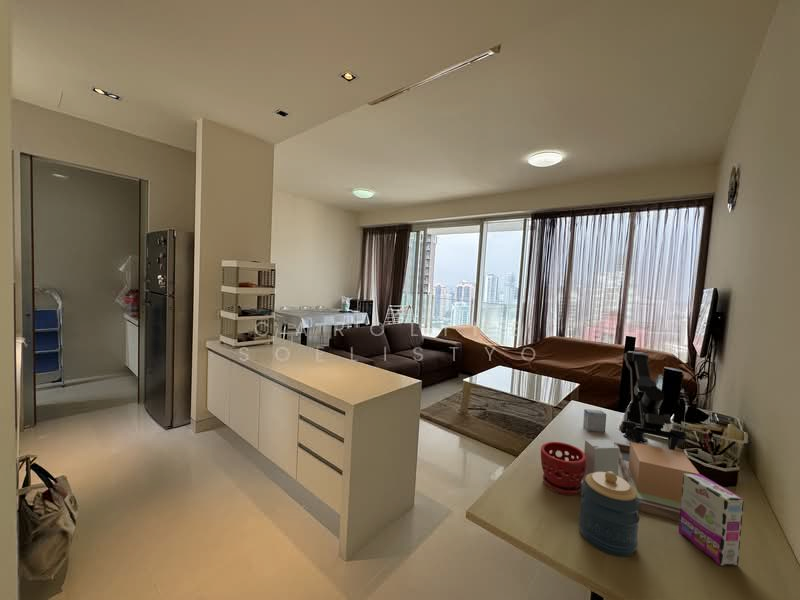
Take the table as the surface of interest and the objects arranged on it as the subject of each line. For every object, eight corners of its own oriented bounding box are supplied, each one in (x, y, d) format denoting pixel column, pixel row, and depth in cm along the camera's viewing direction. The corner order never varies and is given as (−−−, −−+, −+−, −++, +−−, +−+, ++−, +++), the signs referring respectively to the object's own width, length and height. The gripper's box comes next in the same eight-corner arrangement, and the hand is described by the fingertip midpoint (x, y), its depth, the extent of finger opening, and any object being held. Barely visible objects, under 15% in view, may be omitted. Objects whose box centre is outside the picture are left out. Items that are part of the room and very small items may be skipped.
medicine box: (600, 428, 154) (601, 409, 154) (605, 432, 150) (606, 413, 150) (582, 426, 155) (584, 408, 155) (587, 431, 151) (588, 412, 150)
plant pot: (543, 470, 117) (545, 437, 116) (586, 484, 109) (588, 449, 109) (534, 488, 106) (536, 452, 106) (581, 505, 99) (583, 466, 98)
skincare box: (605, 481, 111) (608, 438, 110) (618, 493, 105) (621, 447, 104) (581, 481, 111) (584, 438, 110) (592, 493, 105) (595, 447, 104)
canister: (650, 552, 82) (655, 483, 81) (609, 563, 78) (614, 491, 77) (604, 516, 94) (608, 456, 93) (567, 524, 90) (571, 461, 89)
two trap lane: (613, 448, 135) (614, 442, 135) (675, 461, 126) (675, 454, 126) (634, 510, 98) (635, 501, 97) (724, 534, 89) (725, 524, 89)
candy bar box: (739, 566, 78) (746, 499, 78) (720, 567, 78) (726, 499, 77) (694, 530, 90) (699, 472, 89) (677, 531, 89) (682, 472, 88)
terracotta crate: (628, 468, 120) (630, 441, 119) (680, 480, 113) (683, 452, 113) (637, 491, 106) (639, 461, 106) (697, 506, 100) (700, 474, 99)
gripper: (623, 399, 125) (627, 439, 115) (687, 408, 117) (696, 453, 107) (619, 412, 132) (622, 451, 123) (678, 422, 124) (686, 465, 115)
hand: (655, 455), depth 117 cm, fingers open, 9 cm apart
